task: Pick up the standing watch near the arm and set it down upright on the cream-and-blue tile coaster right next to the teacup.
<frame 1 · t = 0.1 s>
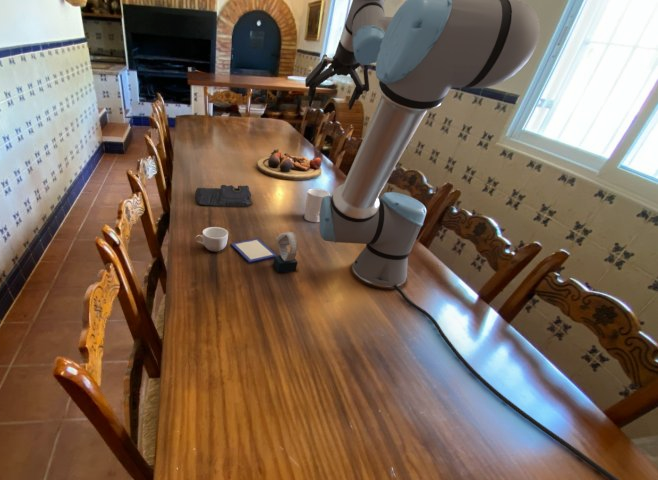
hand: (329, 105, 120), 36 cm above the table, tool tilted 35°, fingers open, 13 cm apart
coaster: (253, 251, 112), on the table
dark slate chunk: (222, 199, 144), on the table
wooden plate: (288, 170, 178), on the table
teacup: (211, 248, 112), on the table
watch: (284, 268, 106), on the table
white cup: (312, 219, 134), on the table
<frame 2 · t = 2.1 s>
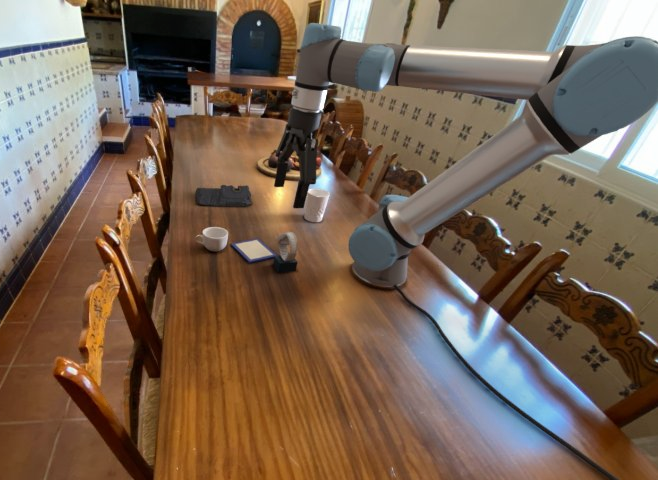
hand: (288, 196, 97), 20 cm above the table, tool pointing down, fingers open, 13 cm apart
nothing on the table moved.
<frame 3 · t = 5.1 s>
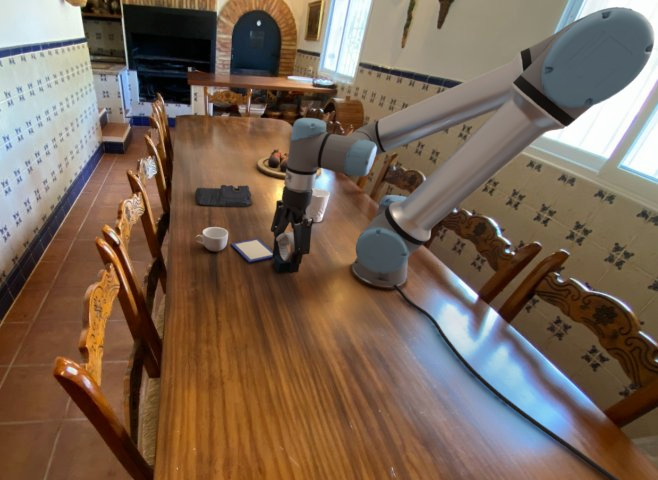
hand: (284, 264, 105), 1 cm above the table, tool pointing down, fingers closed on watch, 8 cm apart
watch: (284, 268, 106), on the table, touching gripper
everything else where it was.
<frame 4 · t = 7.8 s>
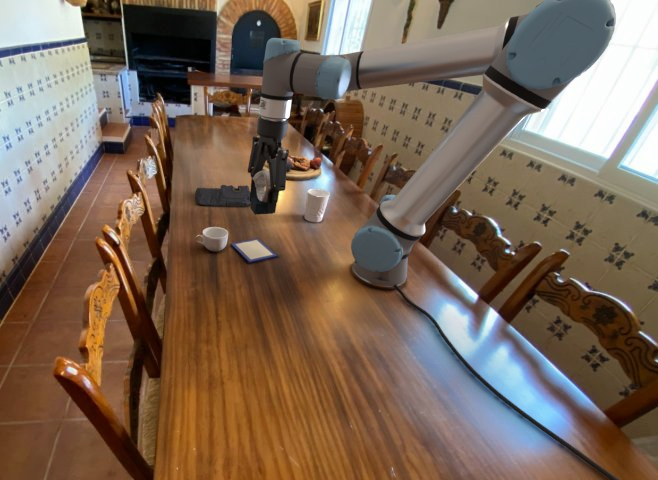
hand: (261, 206, 101), 15 cm above the table, tool pointing down, fingers closed on watch, 8 cm apart
watch: (261, 211, 102), point 14 cm above the table, touching gripper
everything else where it was.
when the fingers open (2 cm above the table, at t = 10.7 s): watch stays where it is, resting on coaster.
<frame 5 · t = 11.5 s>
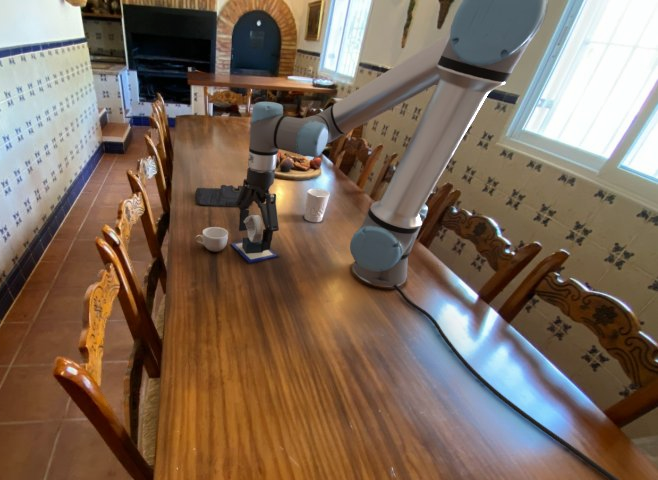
hand: (253, 239, 109), 4 cm above the table, tool pointing down, fingers open, 13 cm apart
watch: (252, 250, 112), resting on coaster
everything else where it was.
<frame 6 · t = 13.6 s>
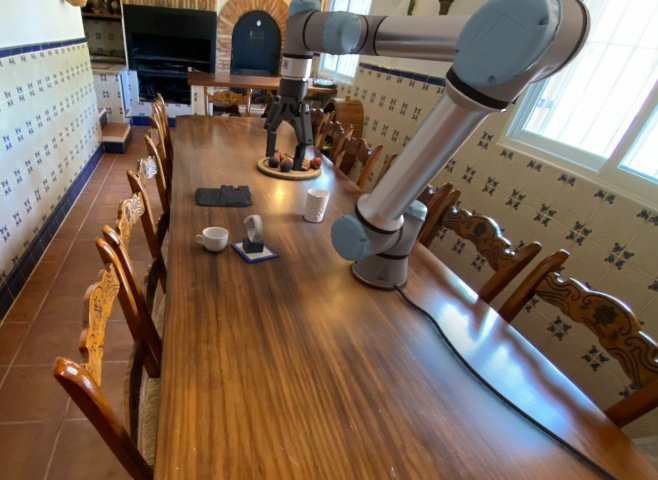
hand: (282, 163, 106), 24 cm above the table, tool pointing down, fingers open, 13 cm apart
nothing on the table moved.
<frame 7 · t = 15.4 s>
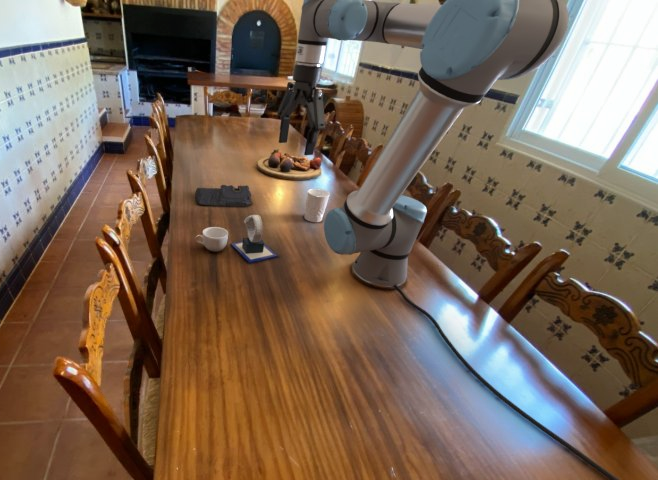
hand: (295, 148, 109), 27 cm above the table, tool pointing down, fingers open, 13 cm apart
nothing on the table moved.
at the end: watch 12.8 cm from the teacup (horizontally); watch inside the target area on the coaster (0.5 cm from its centre), point 0.4 cm above the coaster's base; watch tilted 0° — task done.
